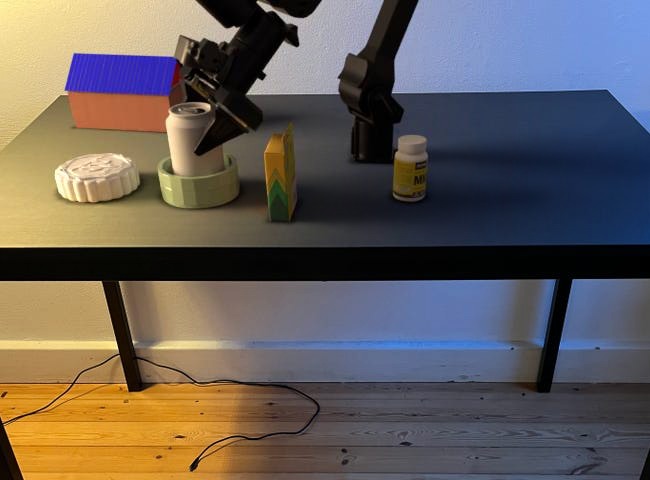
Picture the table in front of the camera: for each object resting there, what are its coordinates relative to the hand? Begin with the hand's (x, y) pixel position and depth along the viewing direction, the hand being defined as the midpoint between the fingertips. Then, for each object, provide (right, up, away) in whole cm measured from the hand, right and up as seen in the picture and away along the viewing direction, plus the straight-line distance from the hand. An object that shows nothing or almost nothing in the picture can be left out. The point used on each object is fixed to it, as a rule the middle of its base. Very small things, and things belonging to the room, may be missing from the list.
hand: (184, 144), depth 97 cm
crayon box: (+14, -10, 0) cm, 17 cm away
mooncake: (-14, -4, +7) cm, 17 cm away
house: (-17, +15, +33) cm, 40 cm away
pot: (+1, -6, +5) cm, 8 cm away
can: (+2, -5, +5) cm, 7 cm away
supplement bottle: (+32, -7, +3) cm, 33 cm away
